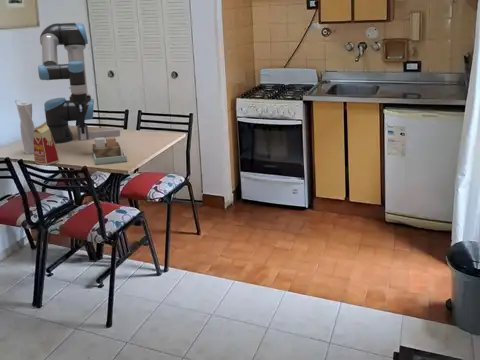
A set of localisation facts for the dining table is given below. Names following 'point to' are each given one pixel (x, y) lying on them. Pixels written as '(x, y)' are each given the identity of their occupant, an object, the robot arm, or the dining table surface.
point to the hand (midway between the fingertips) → (83, 138)
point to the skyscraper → (26, 126)
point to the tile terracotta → (110, 141)
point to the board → (107, 151)
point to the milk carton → (44, 146)
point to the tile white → (99, 142)
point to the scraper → (98, 133)
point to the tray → (110, 159)
